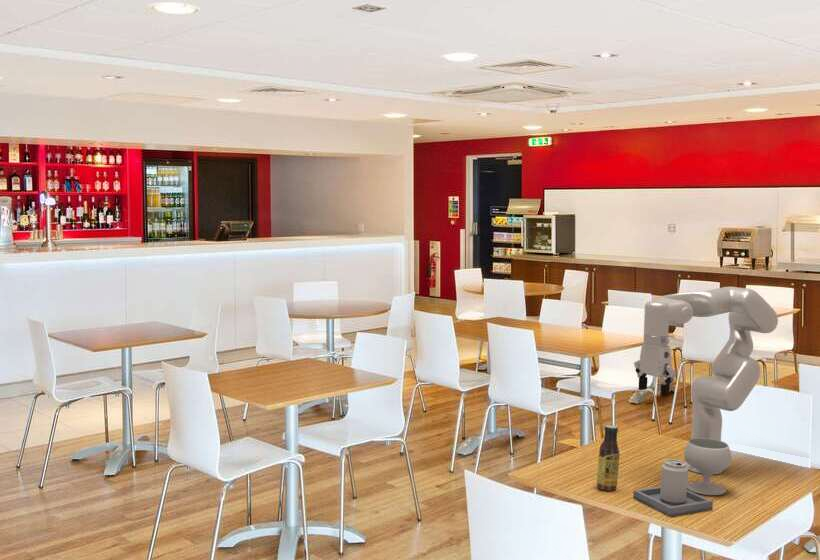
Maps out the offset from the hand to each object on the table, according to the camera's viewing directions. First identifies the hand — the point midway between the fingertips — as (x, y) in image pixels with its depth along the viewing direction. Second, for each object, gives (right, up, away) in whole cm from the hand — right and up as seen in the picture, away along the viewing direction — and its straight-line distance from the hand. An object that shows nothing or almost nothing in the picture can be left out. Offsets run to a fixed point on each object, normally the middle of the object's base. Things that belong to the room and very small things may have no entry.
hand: (653, 392), depth 276 cm
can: (0, -30, -18) cm, 35 cm away
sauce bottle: (-16, -29, -7) cm, 34 cm away
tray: (0, -31, -19) cm, 36 cm away
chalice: (+15, -30, -5) cm, 34 cm away
